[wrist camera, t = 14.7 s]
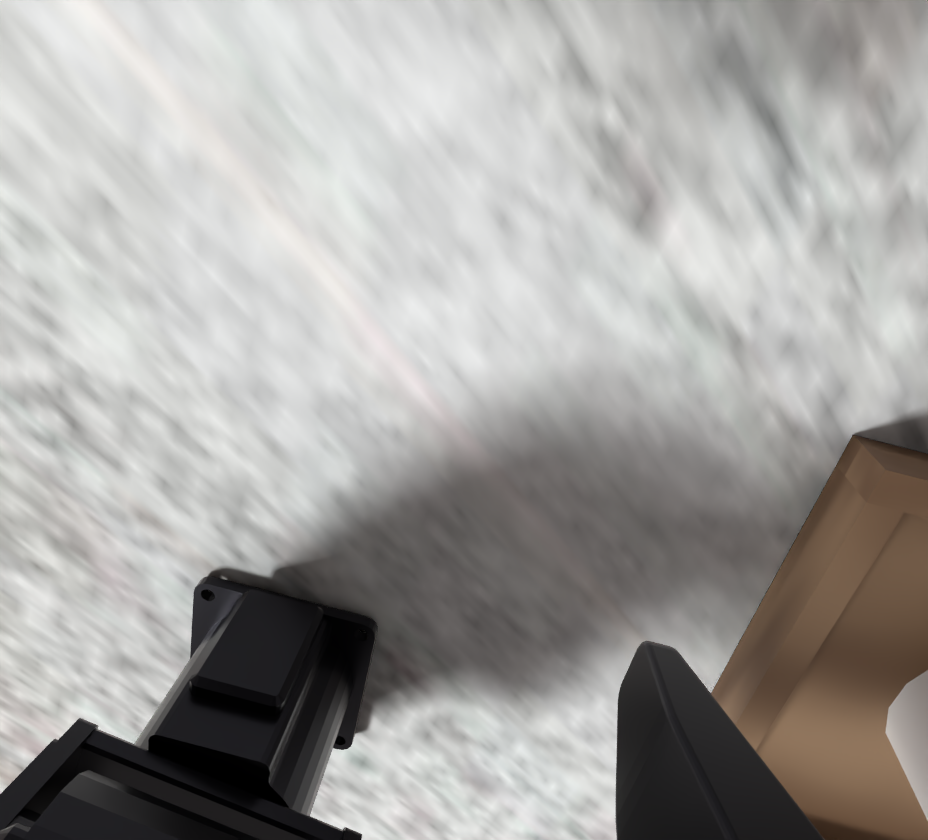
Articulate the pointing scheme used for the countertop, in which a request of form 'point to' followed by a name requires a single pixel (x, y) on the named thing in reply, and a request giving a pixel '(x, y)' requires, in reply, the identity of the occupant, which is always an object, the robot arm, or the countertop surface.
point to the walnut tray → (842, 648)
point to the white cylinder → (912, 735)
